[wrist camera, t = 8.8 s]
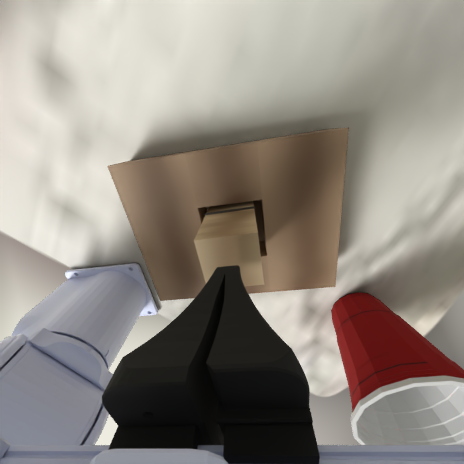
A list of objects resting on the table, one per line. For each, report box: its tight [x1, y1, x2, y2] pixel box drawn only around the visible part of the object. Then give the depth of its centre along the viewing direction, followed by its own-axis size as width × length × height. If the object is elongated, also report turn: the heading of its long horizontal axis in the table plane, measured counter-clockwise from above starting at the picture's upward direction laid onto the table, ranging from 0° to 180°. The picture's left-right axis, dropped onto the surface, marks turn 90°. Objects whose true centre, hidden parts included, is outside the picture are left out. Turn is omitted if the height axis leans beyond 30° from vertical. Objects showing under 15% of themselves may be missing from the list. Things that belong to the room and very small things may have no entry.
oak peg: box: [194, 201, 264, 286], centre depth 17 cm, size 4×4×8 cm
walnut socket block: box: [108, 128, 349, 301], centre depth 20 cm, size 18×14×4 cm
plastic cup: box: [331, 292, 464, 445], centre depth 20 cm, size 11×11×12 cm
